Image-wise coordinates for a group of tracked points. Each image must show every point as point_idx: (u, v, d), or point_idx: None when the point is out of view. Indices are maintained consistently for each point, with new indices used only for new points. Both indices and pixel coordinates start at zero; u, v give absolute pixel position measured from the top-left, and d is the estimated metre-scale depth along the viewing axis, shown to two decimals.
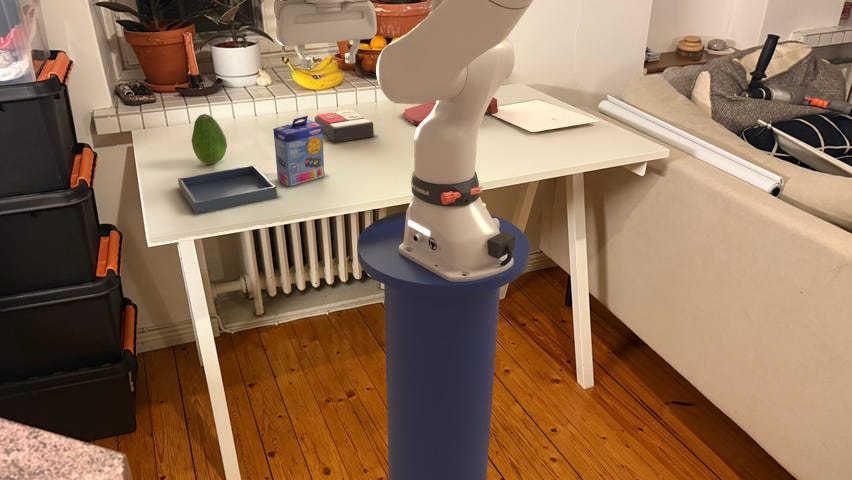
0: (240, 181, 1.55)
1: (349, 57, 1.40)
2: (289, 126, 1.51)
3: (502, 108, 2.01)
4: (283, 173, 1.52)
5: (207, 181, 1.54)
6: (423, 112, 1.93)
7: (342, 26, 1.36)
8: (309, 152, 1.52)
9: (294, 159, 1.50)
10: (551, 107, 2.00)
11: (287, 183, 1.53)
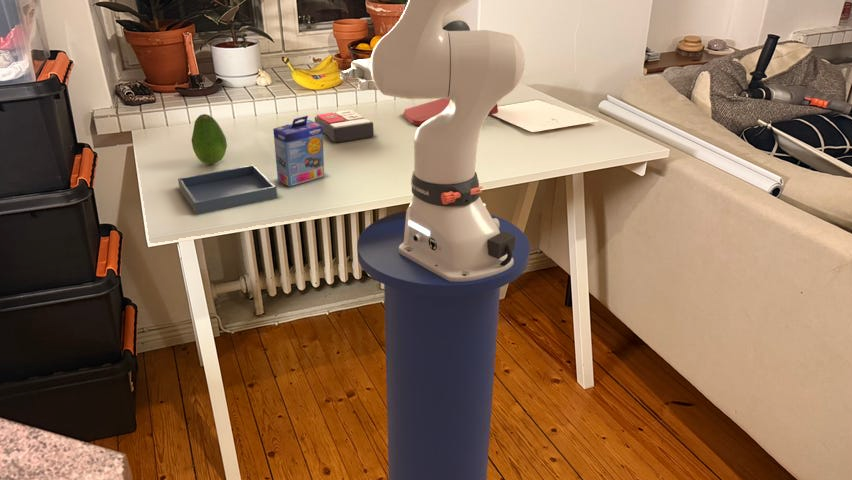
0: (240, 181, 1.55)
1: (363, 80, 1.49)
2: (289, 126, 1.51)
3: (502, 108, 2.01)
4: (283, 173, 1.52)
5: (207, 181, 1.54)
6: (423, 112, 1.93)
7: None
8: (309, 152, 1.52)
9: (294, 159, 1.50)
10: (551, 107, 2.00)
11: (287, 183, 1.53)
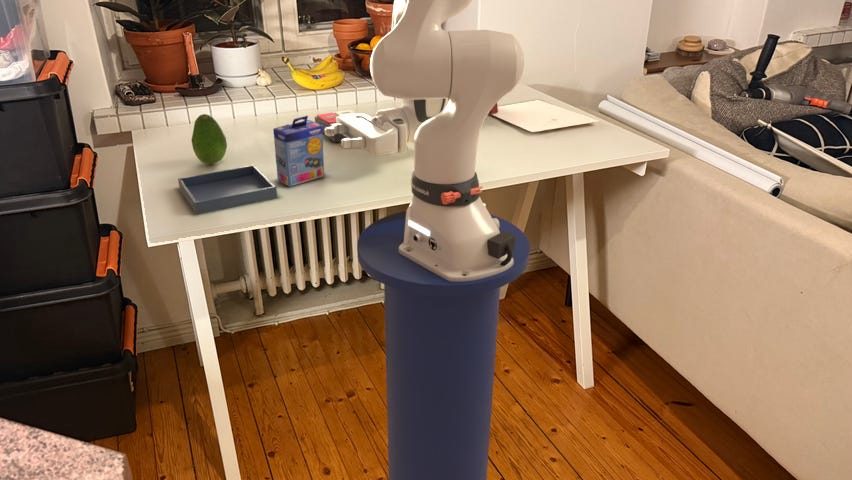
0: (240, 181, 1.55)
1: (346, 138, 1.53)
2: (289, 126, 1.51)
3: (502, 108, 2.01)
4: (283, 173, 1.52)
5: (207, 181, 1.54)
6: None
7: (368, 128, 1.56)
8: (309, 152, 1.52)
9: (294, 159, 1.50)
10: (551, 107, 2.00)
11: (287, 183, 1.53)
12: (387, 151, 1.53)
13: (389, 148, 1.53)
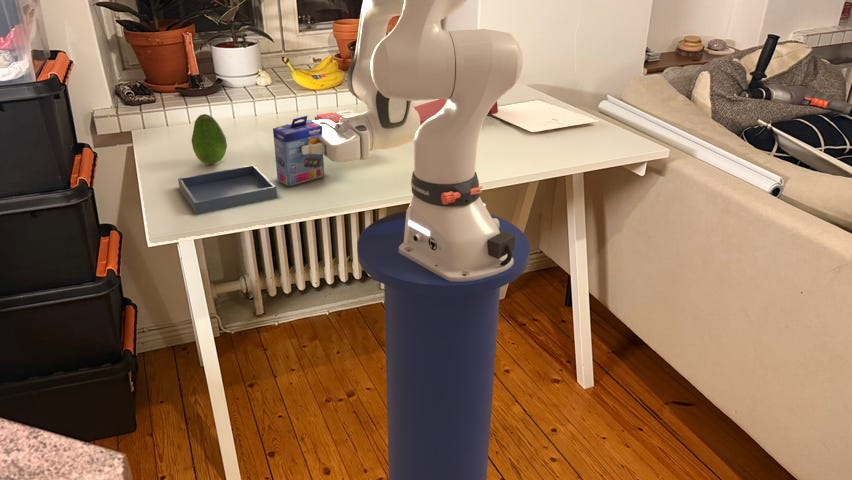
0: (240, 181, 1.55)
1: (305, 144, 1.50)
2: (289, 126, 1.51)
3: (502, 108, 2.01)
4: (283, 172, 1.52)
5: (207, 181, 1.54)
6: (423, 112, 1.93)
7: (330, 135, 1.53)
8: None
9: (293, 159, 1.50)
10: (551, 107, 2.00)
11: (286, 183, 1.53)
12: (349, 159, 1.49)
13: (351, 155, 1.49)
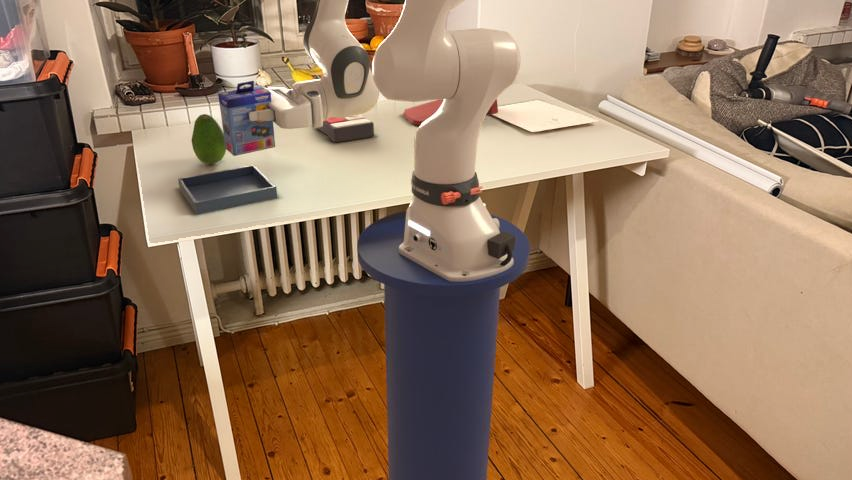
0: (240, 181, 1.55)
1: (253, 110, 1.42)
2: (235, 91, 1.43)
3: (502, 108, 2.01)
4: (228, 141, 1.44)
5: (207, 181, 1.54)
6: (423, 112, 1.93)
7: (281, 101, 1.44)
8: None
9: (238, 126, 1.42)
10: (551, 107, 2.00)
11: (232, 152, 1.45)
12: (299, 126, 1.41)
13: (302, 122, 1.41)
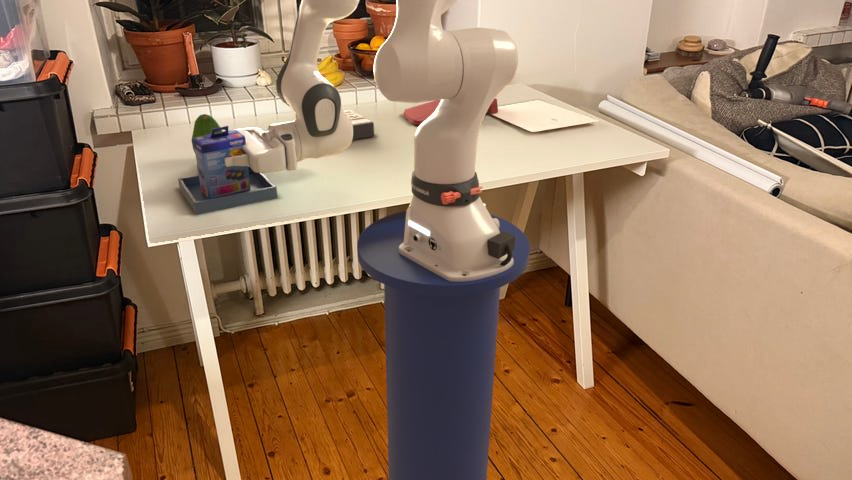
0: None
1: None
2: (210, 136, 1.44)
3: (502, 108, 2.01)
4: (203, 184, 1.46)
5: None
6: (423, 112, 1.93)
7: (255, 144, 1.46)
8: None
9: (213, 170, 1.44)
10: (551, 107, 2.00)
11: (207, 195, 1.46)
12: (272, 169, 1.42)
13: (275, 166, 1.42)
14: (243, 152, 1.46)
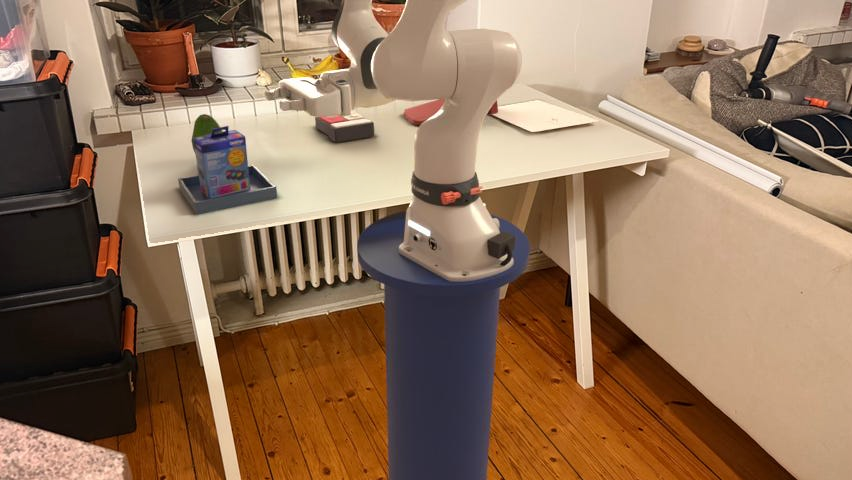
0: None
1: (285, 100, 1.43)
2: (210, 136, 1.44)
3: (502, 108, 2.01)
4: (203, 184, 1.46)
5: None
6: (423, 112, 1.93)
7: (310, 90, 1.46)
8: (231, 164, 1.45)
9: (213, 170, 1.44)
10: (551, 107, 2.00)
11: (207, 195, 1.46)
12: (329, 113, 1.42)
13: (331, 110, 1.42)
14: (243, 152, 1.46)
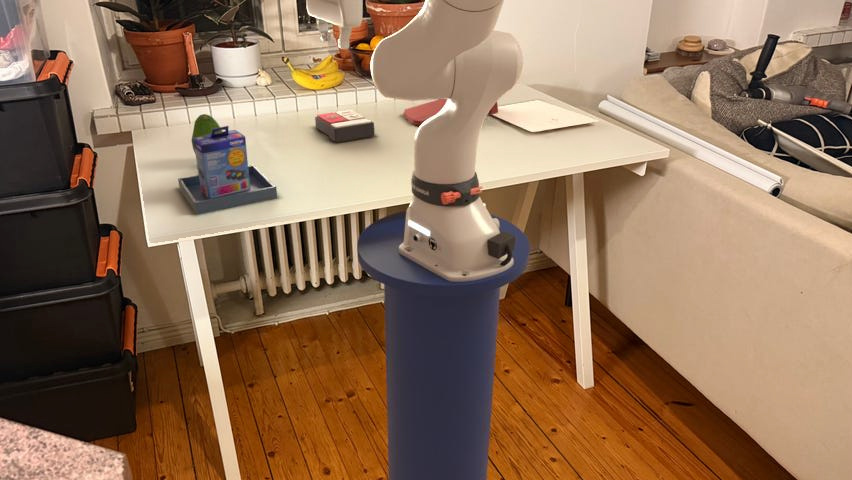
0: None
1: (338, 41, 1.39)
2: (210, 136, 1.44)
3: (502, 108, 2.01)
4: (203, 184, 1.46)
5: None
6: (423, 112, 1.93)
7: (329, 8, 1.36)
8: (231, 164, 1.45)
9: (213, 170, 1.44)
10: (551, 107, 2.00)
11: (207, 195, 1.46)
12: (360, 6, 1.32)
13: (357, 2, 1.31)
14: (243, 152, 1.46)
